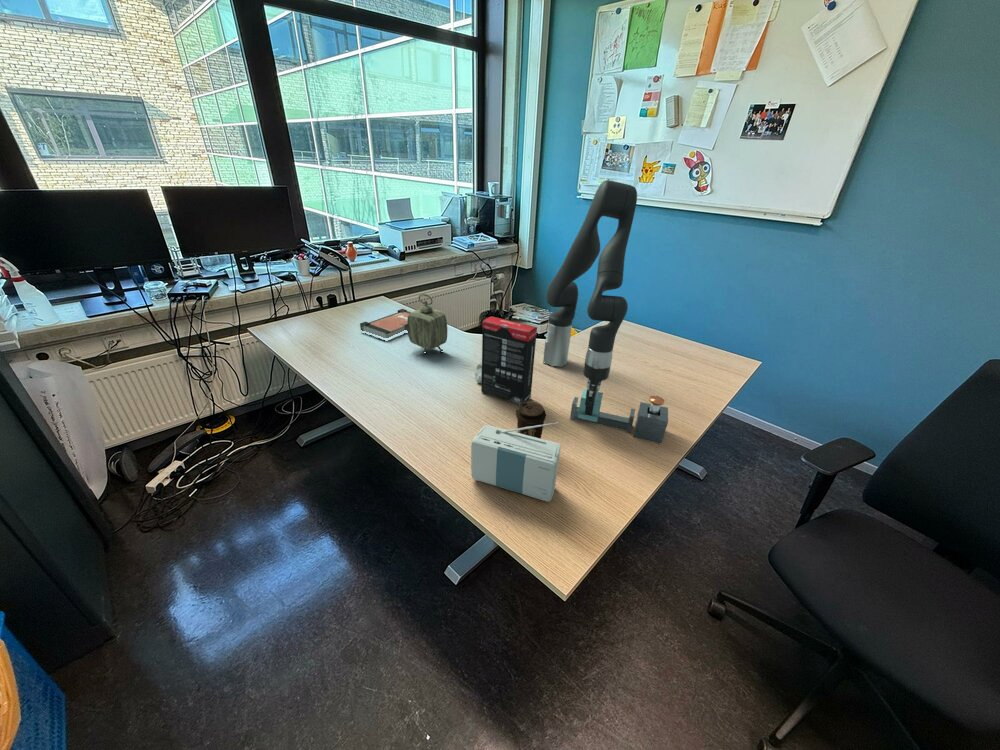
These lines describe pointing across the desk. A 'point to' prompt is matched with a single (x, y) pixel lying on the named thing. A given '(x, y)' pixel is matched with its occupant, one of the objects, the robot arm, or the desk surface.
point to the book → (387, 324)
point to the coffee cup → (530, 418)
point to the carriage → (595, 408)
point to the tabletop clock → (427, 326)
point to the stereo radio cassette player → (515, 461)
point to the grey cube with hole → (651, 424)
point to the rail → (606, 418)
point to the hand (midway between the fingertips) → (589, 409)
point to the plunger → (655, 404)
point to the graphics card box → (507, 359)
